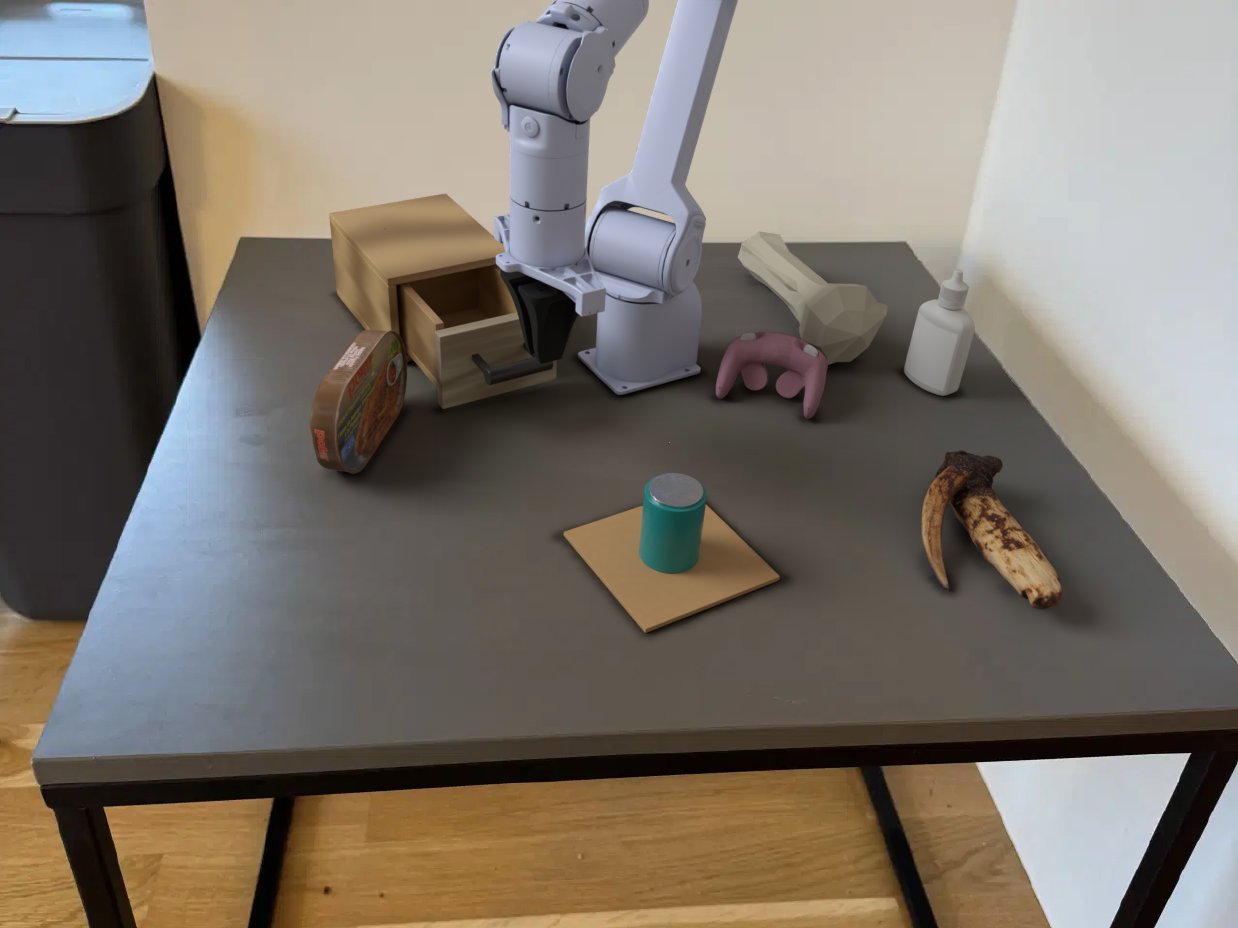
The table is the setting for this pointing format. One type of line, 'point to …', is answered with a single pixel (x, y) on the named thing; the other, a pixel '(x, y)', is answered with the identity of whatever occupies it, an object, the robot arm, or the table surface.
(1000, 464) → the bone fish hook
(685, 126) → the robot arm
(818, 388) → the video game controller
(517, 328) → the drawer
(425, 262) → the cabinet
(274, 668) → the table surface
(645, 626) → the mat
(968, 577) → the table surface
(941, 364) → the eye dropper bottle
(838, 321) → the faceted club
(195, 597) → the table surface
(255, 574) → the table surface
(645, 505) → the can
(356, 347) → the tin
